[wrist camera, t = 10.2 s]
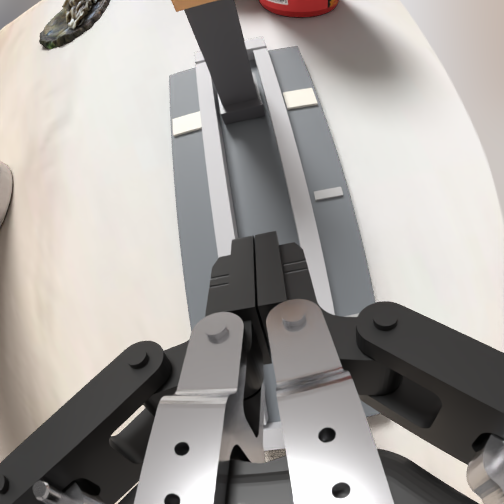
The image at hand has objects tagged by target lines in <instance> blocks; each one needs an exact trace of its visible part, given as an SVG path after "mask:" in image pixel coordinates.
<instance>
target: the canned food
mask: <svg viewBox="0 0 504 504" xmlns="http://www.w3.org/2000/svg"><path fill="white" fill-rule="evenodd" d="M338 1H339V0H259V2H260V3H261V5H262V6H263V7H264V8H265V9H266V10H268V11H270V12H272V13H275V14H278V15H283V16H288V17H312V16H318V15H322V14H325V13H328V12H330V11H331V10H333V9H334V8H335V7H336V6H337V4H338Z"/></svg>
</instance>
